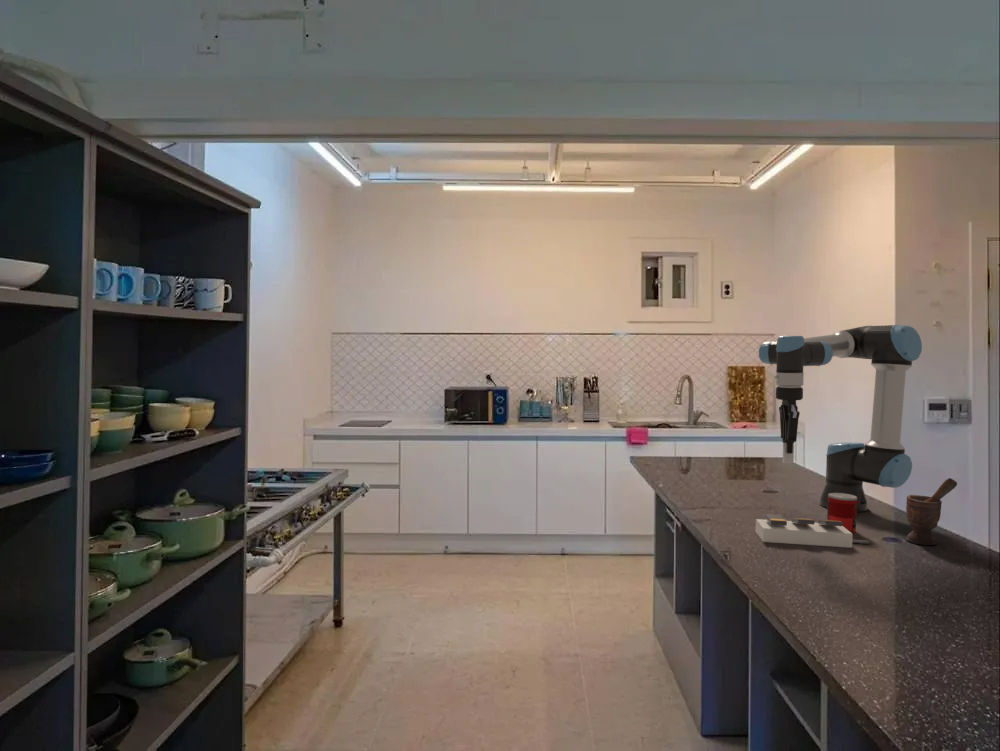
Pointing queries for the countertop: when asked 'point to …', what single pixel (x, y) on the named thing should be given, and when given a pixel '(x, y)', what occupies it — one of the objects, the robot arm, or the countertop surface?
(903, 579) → the countertop surface
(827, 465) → the robot arm
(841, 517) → the canned food
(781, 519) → the block
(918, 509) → the mortar and pestle
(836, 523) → the rocker
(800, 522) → the rocker middle
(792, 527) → the rocker switch panel
